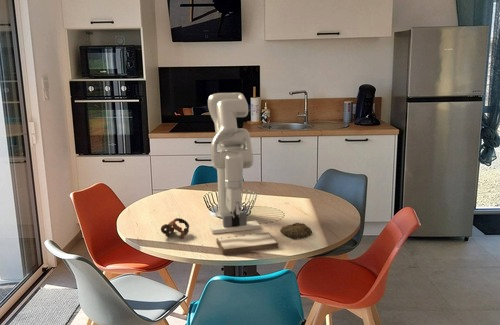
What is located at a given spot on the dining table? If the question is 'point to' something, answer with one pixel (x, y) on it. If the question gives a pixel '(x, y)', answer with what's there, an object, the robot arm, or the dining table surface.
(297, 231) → the bread roll
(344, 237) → the dining table surface
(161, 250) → the dining table surface
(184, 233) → the rusty gear assembly
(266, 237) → the light wooden flat board
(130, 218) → the dining table surface
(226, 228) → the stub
